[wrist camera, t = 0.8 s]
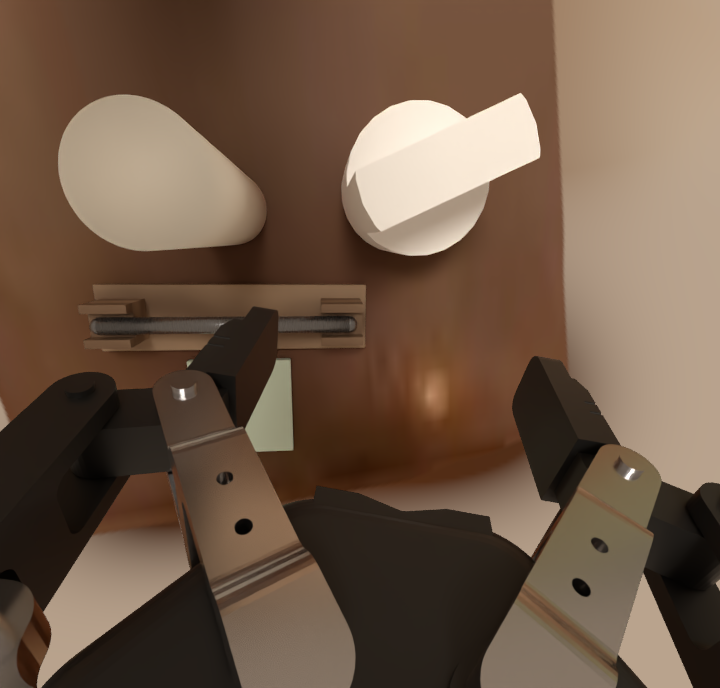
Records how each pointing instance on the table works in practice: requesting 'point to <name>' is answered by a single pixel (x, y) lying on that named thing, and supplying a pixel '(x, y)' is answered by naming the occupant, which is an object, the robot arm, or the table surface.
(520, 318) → the table surface
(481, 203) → the cylinder with rectangular tab
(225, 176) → the tall cream cylinder
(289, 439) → the sage mat
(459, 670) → the robot arm
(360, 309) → the rail stand
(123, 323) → the metal rod
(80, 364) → the table surface
